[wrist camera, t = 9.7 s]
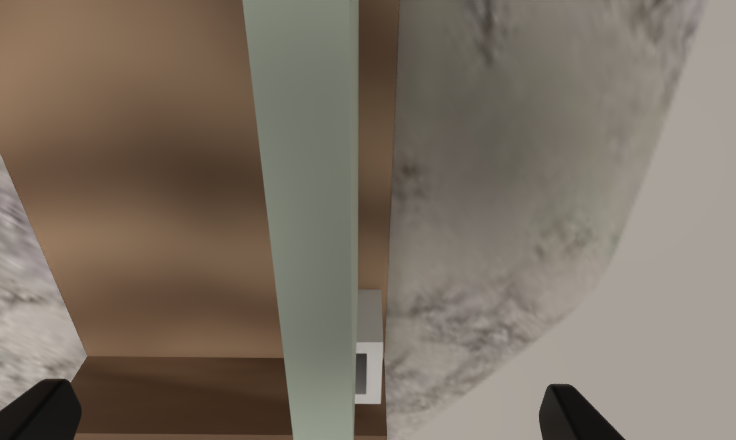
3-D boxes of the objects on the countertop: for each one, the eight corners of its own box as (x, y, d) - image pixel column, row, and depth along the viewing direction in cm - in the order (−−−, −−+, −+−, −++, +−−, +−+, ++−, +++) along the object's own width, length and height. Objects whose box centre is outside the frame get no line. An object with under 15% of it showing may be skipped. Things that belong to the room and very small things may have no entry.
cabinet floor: (383, 354, 25) (386, 450, 20) (104, 351, 25) (47, 447, 20) (403, -135, 14) (418, -156, 9) (-92, -142, 14) (-307, -166, 9)
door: (379, 348, 23) (383, 534, 16) (302, 348, 23) (273, 534, 16) (395, -106, 13) (424, -121, 6) (263, -108, 13) (152, -126, 6)
